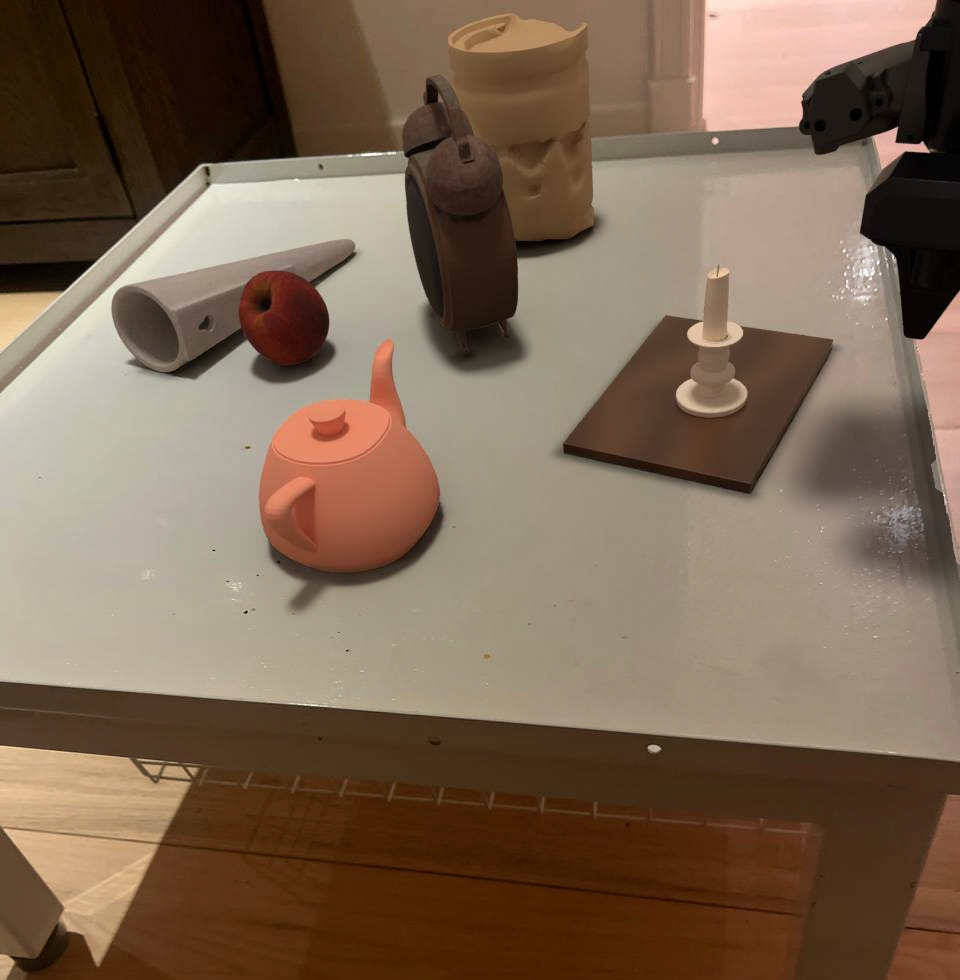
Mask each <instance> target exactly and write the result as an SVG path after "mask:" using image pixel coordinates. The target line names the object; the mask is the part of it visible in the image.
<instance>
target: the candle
mask: <svg viewBox="0 0 960 980" xmlns="http://www.w3.org/2000/svg"><path fill="white" fill-rule="evenodd" d="M729 290H730V269H729V268H726V267H720V263H719V264H717V268H715V269H712V270H711V271H710V272H709V273H708V274H707V276H706V284H705V294H704V305H703V306H704V307H703V319H702V321H703V322H699V323H697V324H695V325H693V326H692V327H691V328H690V329H689V330H688V332H687V337H688V339H689V340H690V341H691V342H692V343H693V344H695V345H698V346H699V348H700V349H699V352H698V361H699V362H697V363H696V364H694V365H693V366H692V368H691V373H690V376H691V379H689V380H687V381H685V382H684V383H683V384H682V385H680V386H679V388H678V389H677V391H676V402H677V405H678V406H679V407H680V408H681V409H682V410H683V411H685V412H686V413H688V414H691V415H694V416H697V417H703V418H717V417H724V416H727V415H731V414H733V413H735V412H737V411H739V410H740V409H741V408H742V407H743V406H744V405H745V403H746V401H747V389H746V387H745V386H744V385H743V384H742V383H741V382H739V381H737V380H736V379H734V376H735V367H734V366H733V365H732V364H731V363H730V362H728V360H729V356H730V351H729V346H730V345H733V344H735V343H737V342H738V341H739V340H740V339H741V338H742V336H743V330H742V328H741V327H740V326H741V325H739V324H737V323H735V322H733V321H730V320H728V317H729V316H728V312H729Z"/></svg>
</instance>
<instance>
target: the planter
mask: <svg viewBox="0 0 960 980" xmlns="http://www.w3.org/2000/svg"><path fill="white" fill-rule="evenodd" d="M355 250H356V243H355V241H354V240H352V239H350V238H340V239H334V240H328V241H323V242H319V243H315V244H314V243H313V244H309V245H305V246H300V247H296V248H292V249H287V250H282V251H278V252H273V253H268V254H262V255H259V256H255V257H251V258H245V259H241V260H237V261H232V262H228V263H223V264H217V265H213V266H208V267H204V268H199V269H194V270H192V271H187V272H186V271H185V272H182V273H177V274H173V275H167V276H162V277H157V278H153V279H148V280H143V281H140V282H135V283H130V284H125V285H123V286H121V287H120V288H118V289H116V291H115V293H114V294H113V296H112V299H111V306H110V307H111V308H110V309H111V318H112V322H113V326H114V328H115V330H116V332H117V335H118V337H119V338H120V340H121V342H122V343H123V345H124V346H125V347H126V349H127V350H128V351H129V353H130V354H131V355H132V356H133V357H134V358H135V359H136V360H138V361H139V362H140V363H141V364H142V365H144V366H145V367H147V368H149V369H151V370H154V371H156V372H160V373H170V372H174V371H176V370H177V369H179V368H180V367H182V366H184V365H185V364H187V363H188V362H191V361H193V360H194V359H196V358H198V356H200V355H202V354H203V353H205V352H206V351H208V350H210V349H211V348H212V347H215V346H216V345H218V343H220V342H222V341H223V340H225V339H227V338H228V337H229V336H231V335H232V334H234V333H235V332H237V331H238V330H240V329H242V328H241V325H240V320H239V311H238V310H239V303H240V299H241V295H242V292H243V289H244V287H245V285H246V284H247V282H248V281H249V280H250V279H251V278H252V277H253V276H255V275H257V274H258V273H261V272H264V271H272V270H281V271H288V272H291V273H294V274H296V275H298V276H300V277H302V278H304V279H305V280H307V281H308V282H309V283H311V282H312V281H314V280H315V279H317V278H318V277H320V276H321V275H323V274H324V273H326V272H328V271H329V270H330V269H332V268H333V267H335V266H337V265H339V264H340V263H342V262H343V261H344V260H346V259H347V258H349V256H350V255H352V254H353V252H354V251H355Z"/></svg>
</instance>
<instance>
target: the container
mask: <svg viewBox="0 0 960 980" xmlns="http://www.w3.org/2000/svg"><path fill="white" fill-rule="evenodd" d="M588 29H589V28H588V23H585V22H582V23H581V24H580V26H579V27H578V28H577V29H575V30H573V31H571V30H565V28H563V27H562V26H560V25H558V24H557V23H554V22H549V21H543V20H540V19H537V18H536V19H535V18H530V19H526V20H525V19H522V18H520V17H519V16H518V15H517V14H516V13H512V12H509V13H504V14H499V15H494V16H490V17H485V18H483V19H480V20H477V21H474V22H470V23H467V24H466V25H464V26H462V27H460V28H458V29H456V30H455V31H452V33H450V34H449V35H448V37H447V38H448V39H447V50H448V58H449V66H450V69H451V70H452V71H453V73H454V74H453V75H454V76H453V78H452V81H451V82H452V88H453V90H454V92H455V94H456V96H457V98H458V101H459V104H460V107H461V109H462V110H463V111H464V112H465V114H466V116H467V118H468V119H469V122H470V124H471V127H472V130H473V133H474V136H475V137H478V138H480V139H482V140H483V141H485V142H486V143H488V144H489V145H490V146H491V147H492V149H493V150H494V151H495V153H496V154H497V156H498V159H499V162H500V166H501V170H502V175H503V186H502V187H503V190H504V193H505V196H506V200H507V203H508V207H509V211H510V215H511V220H512V224H513V230H514V236H515V242H543V241H546V240H569V239H572V238H573V237H575V236H576V235H578V234H579V233H581V232H582V231H585V230H587V229H589V228H591V227H594V225H595V210H594V207H593V200H594V179H593V178H594V177H593V176H594V175H593V151H592V150H593V149H592V147H593V146H592V133H591V126H590V124H589V122H588V120H589V117H590V115H591V101H590V63H589V61H588V59H587V58H586V53H587V50H588V48H589V31H588Z"/></svg>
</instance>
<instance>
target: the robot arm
mask: <svg viewBox="0 0 960 980" xmlns="http://www.w3.org/2000/svg"><path fill="white" fill-rule="evenodd" d="M801 98H802V100H801V101H800V104H801V108H802V115H801V116H802V117H801V119H800V120H799V123H798V130H799V132H800V133H801V134H802V135H804V136H810V138H811V142H812V147H813V151H814V155H817V156H822V155H827V154H831V153H835V152H836V151H838V149H839V147H841V146H844V145H848V144H851V143H854V142H858V141H861V140H864V139H868V138H871V137H875V136H877V135H882V134H884V133H887V132H889V131H890V132H891V131H893V130H895V129H896V128H897V129H896V130H897V131H896V137H895V141H894V143H895V144H903V145H921V144H922V142H923V145H924V146H925V148H926V149H927V151H928V152H925V151H924V152H922V151H908V150H907V151H906V150H905V151H904V152H902V153H901V154H900V155H898V156H897V157H896V158H895V159H893V160H891V162H890V163H889V164H887V165H886V166H885V167H884V168H882V170H881V171H880V173H879V175H877V177H876V179H875V180H874V182H873V183H872V185H871V187H870V188H869V190H868V191H867V193H866V194H865V198H864V204H863V209H862V210H863V211H862V216H861V221H860V228H859V234H860V235H862V236H863V237H865V238H866V239H868V240H869V241H871V243H872V244H874V245H876V246H879V247H884V248H885V249H886V250H888V251H889V252H890V253H891V254H892V255H893V257H894V258H895V261H896V268H897V276H898V285H899V286H898V287H899V298H900V309H901V319H902V320H901V321H902V331H903V333H902V334H903V336H904V337H905V338H906V339H911V340H919V341H922V340H924V339H926V338H927V336H928V335H929V333H930V332H931V330H933V328H934V326H935V325H936V324H937V322H938V321H939V320H940V318H941V317H942V315H943V314H944V313H945V312H946V310H947V309H948V307H949V306H950V305H951V303H952V302H953V300H954V299H955V298H956V296H957V295H958V294H959V293H960V0H936V2H935V6H934V10H933V11H932V13H931V16H930V19H929V20H928V21H927V22H926V24H925V25H924V26H921V27H920V29H919V30H918V31H917V33H916V36H915V39H912V40H910V41H906V42H900V43H897V44H894V45H891V46H889V47H886V48H883V49H880V50H877V51H874V52H870V53H869V54H865V55H863V56H860V57H858V58H854V59H851V60H848V61H846V62H844V63H840V64H838V65H835V66H833V67H831V68H829V69H826V70H824V71H823V72H822V73H820V74H819V75H817V76H816V78H815V79H814V80H813V82H811V84H810V85H808V87H807V88H806V89H805V91H803V93H802V95H801Z"/></svg>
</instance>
